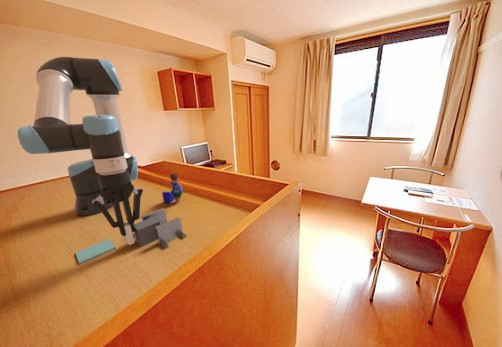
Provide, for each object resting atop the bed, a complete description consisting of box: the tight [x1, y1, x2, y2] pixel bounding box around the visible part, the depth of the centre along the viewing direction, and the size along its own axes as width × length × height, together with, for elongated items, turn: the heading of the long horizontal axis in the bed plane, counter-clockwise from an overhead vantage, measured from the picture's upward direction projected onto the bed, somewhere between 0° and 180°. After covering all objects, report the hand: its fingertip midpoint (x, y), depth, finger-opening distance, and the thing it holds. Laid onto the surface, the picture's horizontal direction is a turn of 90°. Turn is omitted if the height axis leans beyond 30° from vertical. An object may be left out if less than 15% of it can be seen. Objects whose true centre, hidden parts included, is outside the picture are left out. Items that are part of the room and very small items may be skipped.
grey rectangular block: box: [133, 217, 161, 247], centre depth 66 cm, size 5×7×6 cm
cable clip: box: [161, 190, 175, 204], centre depth 99 cm, size 12×4×6 cm, turn 171°
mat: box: [75, 238, 116, 265], centre depth 62 cm, size 7×9×1 cm
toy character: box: [166, 172, 184, 204], centre depth 92 cm, size 12×5×15 cm, turn 53°
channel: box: [140, 207, 188, 249], centre depth 70 cm, size 19×8×6 cm, turn 48°
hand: (130, 242), depth 63 cm, fingers closed
